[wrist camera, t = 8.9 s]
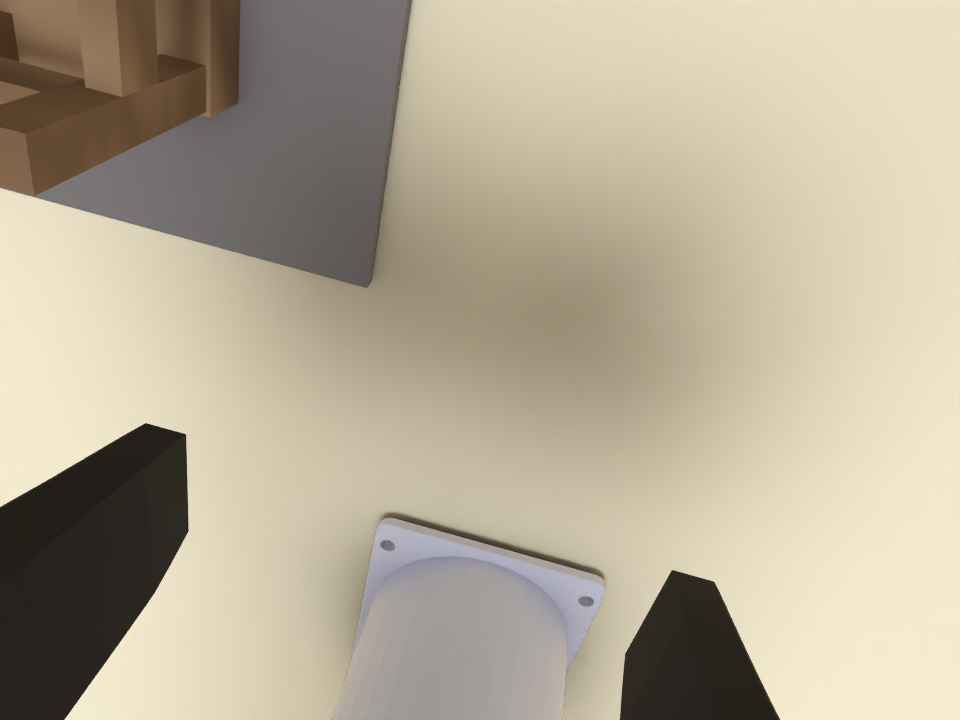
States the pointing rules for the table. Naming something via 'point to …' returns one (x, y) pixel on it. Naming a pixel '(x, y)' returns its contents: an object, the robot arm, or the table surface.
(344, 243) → the mat
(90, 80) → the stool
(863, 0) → the table surface
